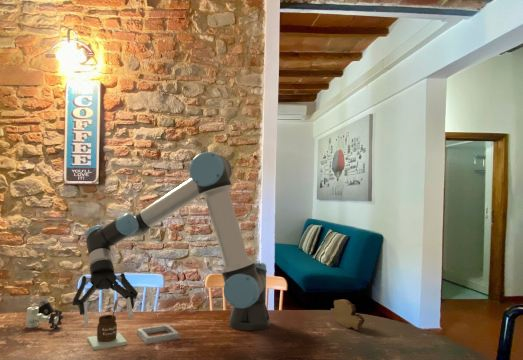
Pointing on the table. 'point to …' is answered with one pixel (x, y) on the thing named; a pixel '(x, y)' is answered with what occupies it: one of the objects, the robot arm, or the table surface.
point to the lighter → (45, 308)
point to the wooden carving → (347, 314)
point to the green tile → (100, 345)
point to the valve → (42, 318)
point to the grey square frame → (159, 338)
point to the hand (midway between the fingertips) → (109, 320)
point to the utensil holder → (107, 326)
